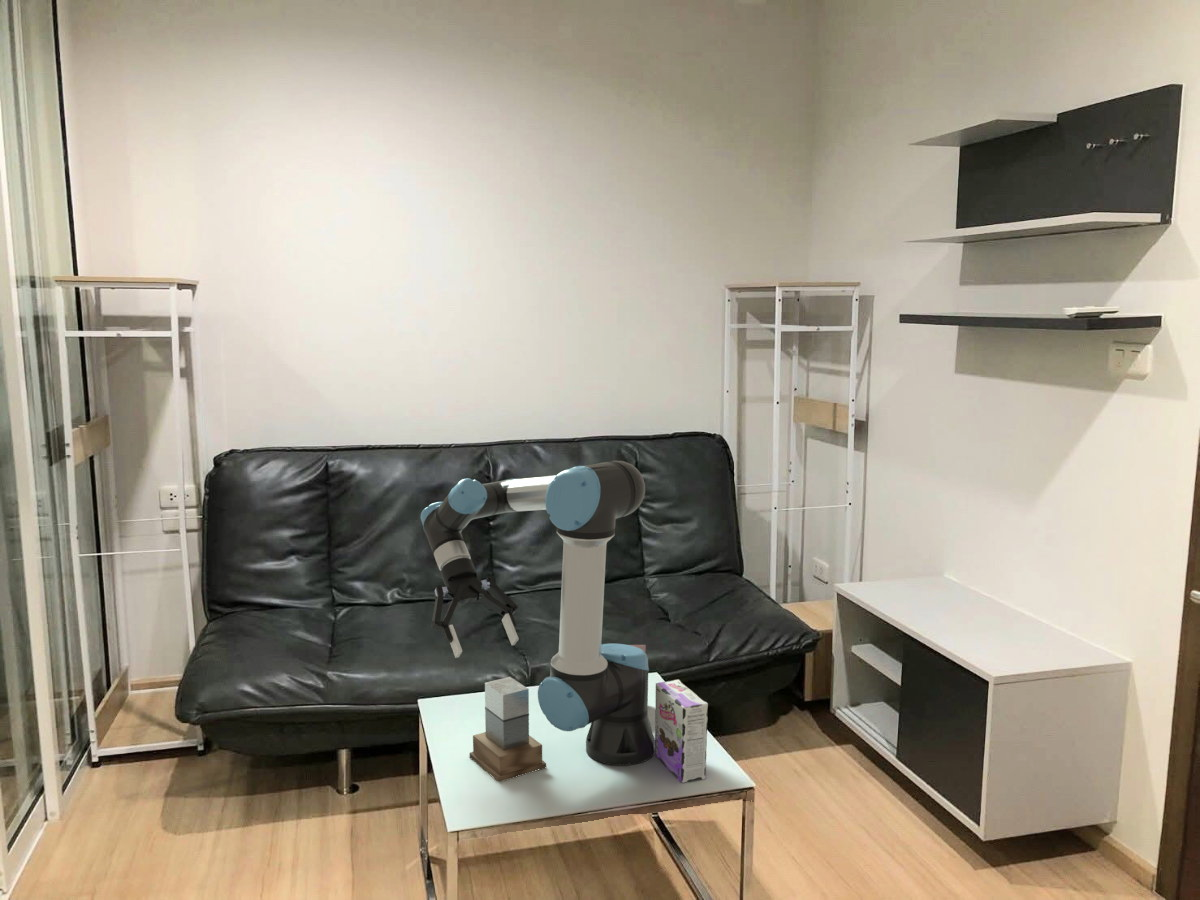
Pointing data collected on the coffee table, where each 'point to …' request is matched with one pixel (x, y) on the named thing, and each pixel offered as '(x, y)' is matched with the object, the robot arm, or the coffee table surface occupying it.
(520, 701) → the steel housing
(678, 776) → the candy box
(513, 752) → the walnut stand
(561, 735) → the coffee table surface
